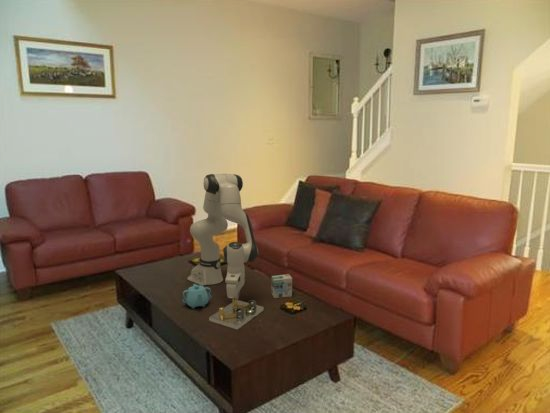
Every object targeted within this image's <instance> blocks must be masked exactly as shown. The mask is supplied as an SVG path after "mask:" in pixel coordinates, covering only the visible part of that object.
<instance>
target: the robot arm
mask: <svg viewBox="0 0 550 413" xmlns="http://www.w3.org/2000/svg"><path fill="white" fill-rule="evenodd" d="M243 185H244V183H243V179H242V177H241V176H240V174H233V173H232V174H231V173H216V174H213V173H212V174H211V173H210V174H207V175H205V177H204V179H203V189H204V190H205V195H204V199H203V206H202V208H203V211H204V212H205V213H206V214H207V218H204V219H200V220H197V221H195V222H193V223H191V225H190V228H189V232H190V235H191V237H192V238H193V239H194V240H196V241H197V242H198V244H199V248H200V256H201V257H200V258H199V259H197V262H199V263H198V264H197V265H195V267H193V268H192V269H191V272H190V275H188V277H187V278H186V279H187V280H188V281H190V282H191V283H193V284H196V285H201V286H207V285H209V286H210V285H216V284H220V283H221V282H223V281H224V280H225V281H224V282H225V283H226V286H225V287H226V296H227V298H228V299H233V298H237V299H238V300H239V298H240V291H241V289H242V288H243V286H244V285H245V281H246V279H245V276H246V274H245V273H246V272H245V271H246V270H245V263H254V262H255V261H256V260H258V258H259V250H258V247H257V244H256V241H255V236H254V232H253V229H252V224H251V220H250V217H249V215H248V213H246V212H245V210H243V207H242V199H241V194H240V192H241V191H242V189H243V188H244V186H243ZM228 222H232V223H235V224H238V225H240V226H241V227H242V228H243V232H244V235H245V239H246V242H245V243H242V242H239V241H231V242H230V243H228V244H226V245H225V246H224V247H223V249H222V252H223V257H222V260H223V261H224V262H225V263H226V264H227V266H226V267H227V270H226V271H227V273H226V277H225V279H224V277H223V274H222V268H221V263H222V261H221V256H220V254H221V253H220V251H221V250H220V246H219V244H218V242H215V241H214V239H213V236H218V235H221V234H223V233H224V232H225V231H227V229H228V226H229V223H228Z"/></svg>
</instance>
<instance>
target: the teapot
mask: <svg viewBox="0 0 550 413" xmlns="http://www.w3.org/2000/svg"><path fill="white" fill-rule="evenodd" d="M207 290H208V291H207ZM211 292H212V290H211V288H210V287H209V286H206V287H205V285H199V284H197V283H193V284H192V286H189V287H188V288H187V289H185V290H184V291H182V295H183V296H182V297H183V298H182V302H183V303H186V304H187V306H189V307H190V308H191V310H192V309H193V310H194V309H196V308H197V307H202V308H205V307H206V305H207V304H208V303H209V300H210V299H211V298H212V295H211ZM185 293H186V294H185Z"/></svg>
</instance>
